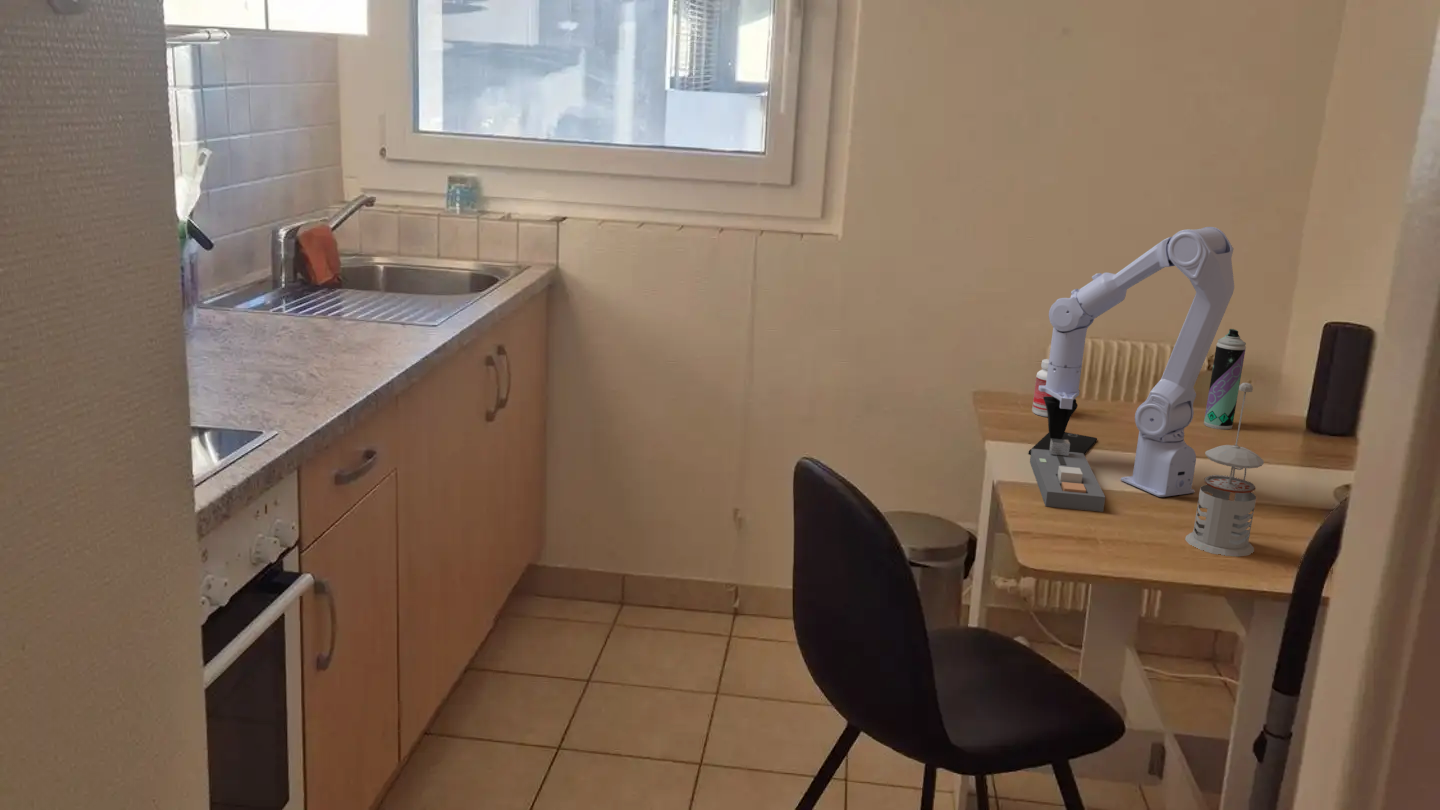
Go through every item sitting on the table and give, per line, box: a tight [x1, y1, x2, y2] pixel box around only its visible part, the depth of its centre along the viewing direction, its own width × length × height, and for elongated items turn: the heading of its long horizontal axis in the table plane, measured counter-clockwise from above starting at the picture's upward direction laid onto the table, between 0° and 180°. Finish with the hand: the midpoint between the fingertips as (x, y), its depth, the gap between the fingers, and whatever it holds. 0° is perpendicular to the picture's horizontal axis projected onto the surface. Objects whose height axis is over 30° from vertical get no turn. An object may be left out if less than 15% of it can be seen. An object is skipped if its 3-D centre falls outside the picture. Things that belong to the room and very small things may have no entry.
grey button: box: [1057, 466, 1083, 483], centre depth 206 cm, size 3×3×2 cm
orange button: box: [1061, 482, 1086, 493], centre depth 202 cm, size 3×3×2 cm
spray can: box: [1203, 328, 1247, 430], centre depth 252 cm, size 6×6×20 cm
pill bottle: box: [1031, 358, 1053, 418], centre depth 255 cm, size 6×6×11 cm
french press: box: [1185, 382, 1265, 558], centre depth 185 cm, size 10×12×25 cm
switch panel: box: [1029, 448, 1106, 513], centre depth 211 cm, size 24×9×3 cm, turn 172°
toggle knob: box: [1049, 438, 1070, 456], centre depth 220 cm, size 2×3×2 cm
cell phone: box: [1027, 431, 1098, 456], centre depth 233 cm, size 9×18×1 cm, turn 152°
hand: (1055, 437), depth 225 cm, fingers closed
